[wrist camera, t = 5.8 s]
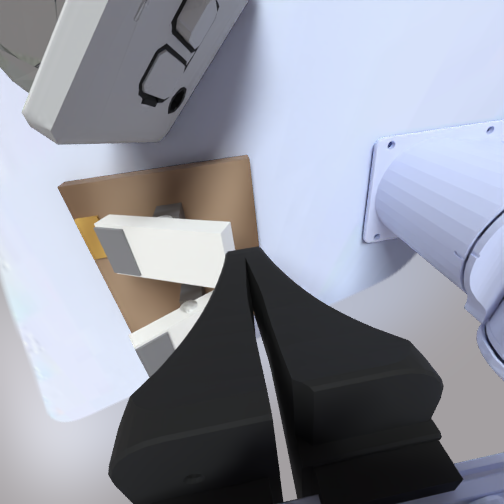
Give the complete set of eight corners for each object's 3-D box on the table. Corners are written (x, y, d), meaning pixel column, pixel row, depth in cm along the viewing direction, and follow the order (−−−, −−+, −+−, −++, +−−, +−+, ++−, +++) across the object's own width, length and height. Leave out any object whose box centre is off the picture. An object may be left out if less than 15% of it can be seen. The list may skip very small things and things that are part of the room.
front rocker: (232, 219, 14) (219, 235, 13) (241, 273, 16) (230, 292, 15) (112, 212, 17) (91, 224, 16) (132, 260, 19) (115, 275, 18)
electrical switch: (162, 142, 17) (100, 182, 9) (78, 80, 15) (-98, 58, 7) (260, -16, 14) (302, -181, 6) (167, -119, 12) (36, -575, 4)
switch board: (247, 154, 18) (254, 167, 15) (264, 304, 25) (270, 329, 23) (64, 181, 17) (40, 199, 15) (135, 327, 24) (127, 356, 22)
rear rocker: (233, 276, 21) (245, 286, 20) (239, 310, 23) (251, 322, 22) (127, 332, 17) (134, 349, 16) (145, 367, 19) (153, 384, 18)
